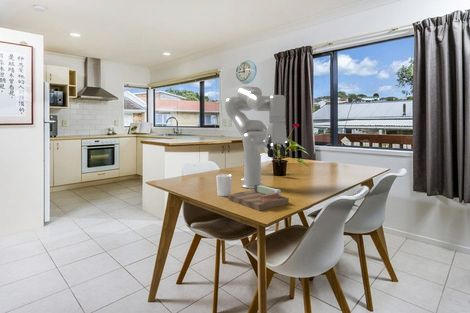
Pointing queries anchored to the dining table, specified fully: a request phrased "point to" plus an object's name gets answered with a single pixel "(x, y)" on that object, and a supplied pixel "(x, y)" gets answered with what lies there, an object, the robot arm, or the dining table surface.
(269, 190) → the stool leg
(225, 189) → the white cup
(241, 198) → the stool seat
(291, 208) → the dining table surface
